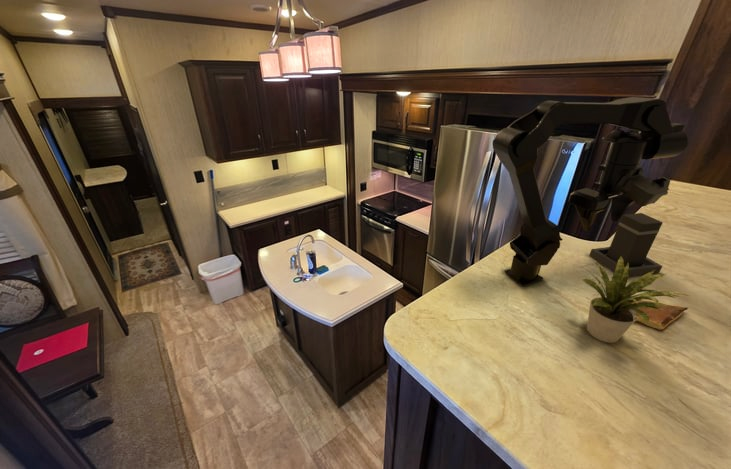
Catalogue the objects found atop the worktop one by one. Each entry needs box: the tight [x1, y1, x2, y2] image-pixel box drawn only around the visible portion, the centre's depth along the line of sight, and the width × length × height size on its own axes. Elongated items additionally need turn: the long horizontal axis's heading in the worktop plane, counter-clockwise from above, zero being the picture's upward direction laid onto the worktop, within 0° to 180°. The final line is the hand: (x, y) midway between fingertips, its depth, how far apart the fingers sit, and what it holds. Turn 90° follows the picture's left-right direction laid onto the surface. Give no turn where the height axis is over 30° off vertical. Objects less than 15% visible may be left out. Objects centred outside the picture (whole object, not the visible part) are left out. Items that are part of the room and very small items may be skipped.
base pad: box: [589, 246, 663, 278], centre depth 76 cm, size 10×10×2 cm
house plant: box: [581, 256, 690, 343], centre depth 53 cm, size 14×14×16 cm
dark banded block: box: [606, 212, 663, 268], centre depth 73 cm, size 5×6×13 cm
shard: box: [634, 299, 689, 331], centre depth 59 cm, size 11×8×2 cm
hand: (600, 225), depth 70 cm, fingers open, 9 cm apart
